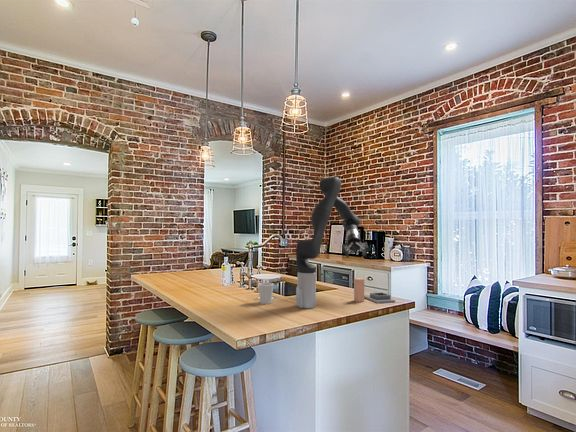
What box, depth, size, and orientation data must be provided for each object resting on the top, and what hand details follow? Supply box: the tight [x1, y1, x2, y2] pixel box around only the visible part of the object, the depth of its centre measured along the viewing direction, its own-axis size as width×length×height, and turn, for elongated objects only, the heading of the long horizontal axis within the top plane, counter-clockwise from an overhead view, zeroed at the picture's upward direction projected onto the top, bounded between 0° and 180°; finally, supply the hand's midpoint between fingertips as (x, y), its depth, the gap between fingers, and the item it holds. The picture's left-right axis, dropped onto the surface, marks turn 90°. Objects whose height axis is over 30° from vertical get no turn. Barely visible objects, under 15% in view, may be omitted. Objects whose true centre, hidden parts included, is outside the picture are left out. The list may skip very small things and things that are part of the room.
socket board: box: [364, 292, 396, 304], centre depth 184 cm, size 11×15×3 cm
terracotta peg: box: [353, 277, 365, 303], centre depth 181 cm, size 4×4×12 cm
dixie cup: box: [257, 281, 275, 305], centre depth 175 cm, size 8×8×10 cm
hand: (356, 256), depth 179 cm, fingers open, 8 cm apart
